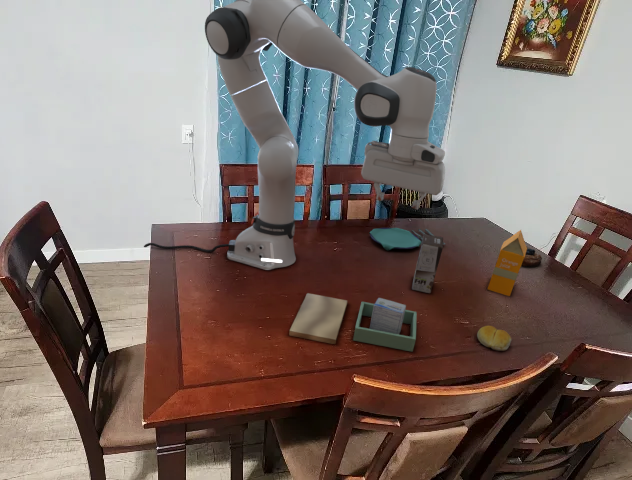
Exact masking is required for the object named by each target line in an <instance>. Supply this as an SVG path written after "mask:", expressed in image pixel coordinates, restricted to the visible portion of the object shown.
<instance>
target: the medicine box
mask: <svg viewBox="0 0 632 480" xmlns="http://www.w3.org/2000/svg"><path fill="white" fill-rule="evenodd" d="M373 304H374V307H373V313H372V317H370V323H369V324H370V325H369V329H373V330H378V331H383V332H388V333H394V334H399V335H400V334H401V330H402V326H403V323H402V322H403V318H404V313H405V310H407V304H402V303H400V302H397V301H393V300H390V299H385V298H382V297H377V299H376V301H374V303H373Z"/></svg>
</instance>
